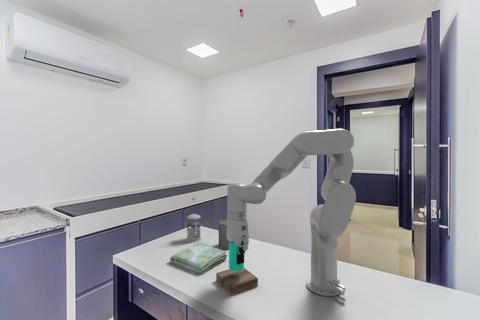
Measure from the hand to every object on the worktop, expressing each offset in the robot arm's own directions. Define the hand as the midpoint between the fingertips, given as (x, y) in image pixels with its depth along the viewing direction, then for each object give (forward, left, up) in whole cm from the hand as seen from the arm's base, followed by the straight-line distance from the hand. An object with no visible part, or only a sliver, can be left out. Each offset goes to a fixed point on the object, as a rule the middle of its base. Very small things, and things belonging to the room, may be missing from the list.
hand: (236, 260), depth 94 cm
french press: (+54, -3, -9) cm, 55 cm away
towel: (+26, +5, -10) cm, 28 cm away
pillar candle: (+35, -15, -9) cm, 39 cm away
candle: (0, 0, -3) cm, 3 cm away
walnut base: (0, 0, -9) cm, 9 cm away
